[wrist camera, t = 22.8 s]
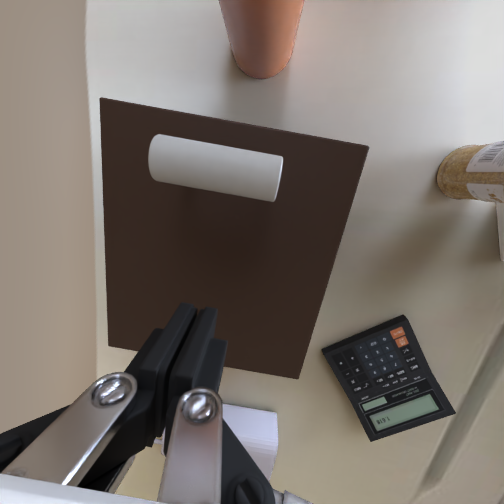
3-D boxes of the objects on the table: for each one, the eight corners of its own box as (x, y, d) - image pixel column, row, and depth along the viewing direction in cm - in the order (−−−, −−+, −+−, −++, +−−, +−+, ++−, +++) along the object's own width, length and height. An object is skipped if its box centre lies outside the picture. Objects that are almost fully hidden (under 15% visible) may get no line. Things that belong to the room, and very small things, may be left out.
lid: (108, 100, 13) (24, 66, 8) (364, 147, 13) (416, 137, 9) (114, 338, 18) (64, 396, 14) (297, 371, 18) (307, 439, 14)
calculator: (403, 314, 26) (420, 331, 23) (438, 392, 29) (457, 416, 26) (321, 349, 28) (328, 368, 25) (361, 419, 31) (371, 444, 28)
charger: (157, 388, 31) (276, 407, 31) (154, 441, 34) (264, 459, 34) (139, 424, 26) (279, 448, 26) (137, 482, 29) (263, 503, 29)
